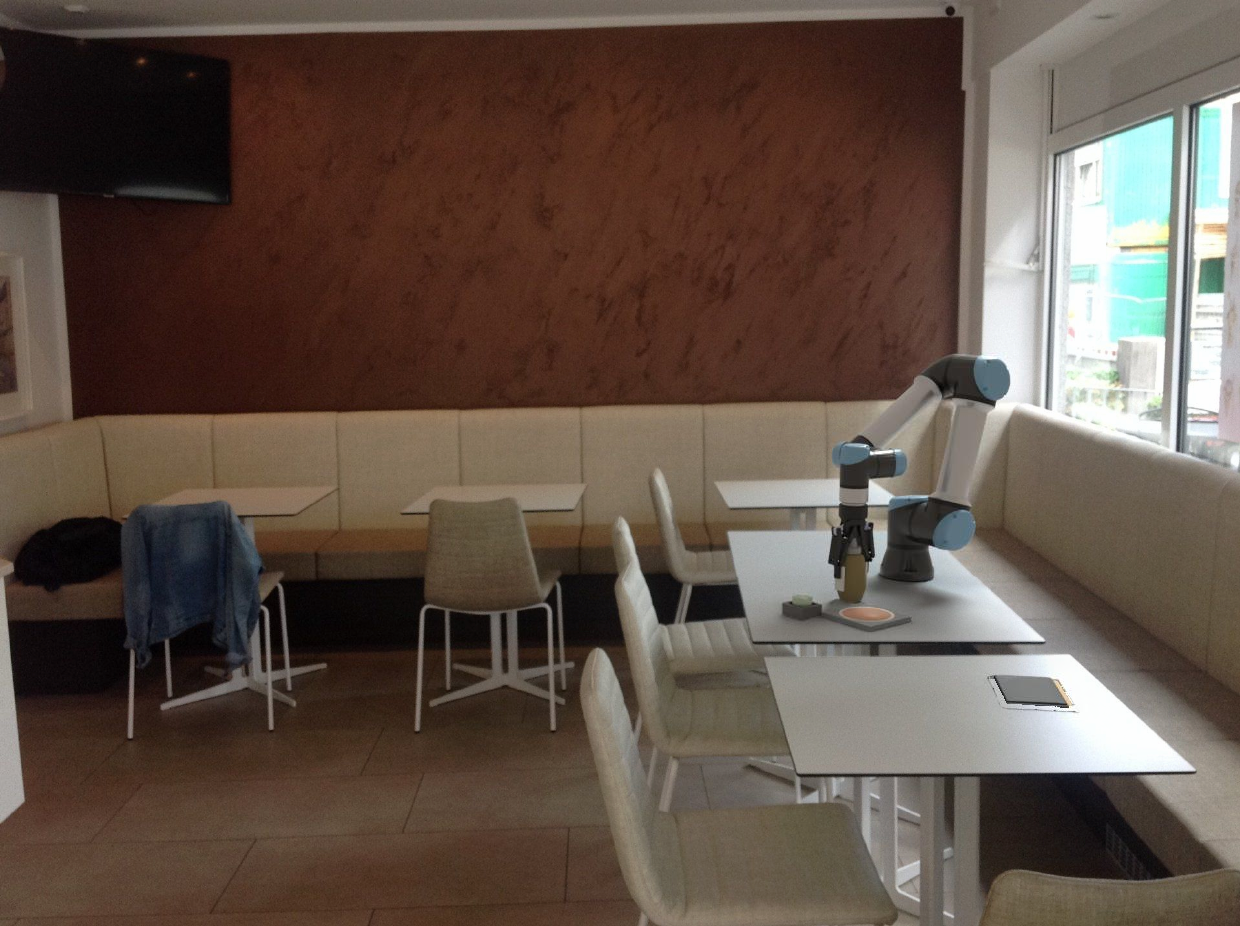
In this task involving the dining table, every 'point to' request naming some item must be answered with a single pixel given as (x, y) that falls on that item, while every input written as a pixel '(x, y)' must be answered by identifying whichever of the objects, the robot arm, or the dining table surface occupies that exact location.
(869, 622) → the print board
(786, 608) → the button housing
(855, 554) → the squeeze bottle
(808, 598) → the button
